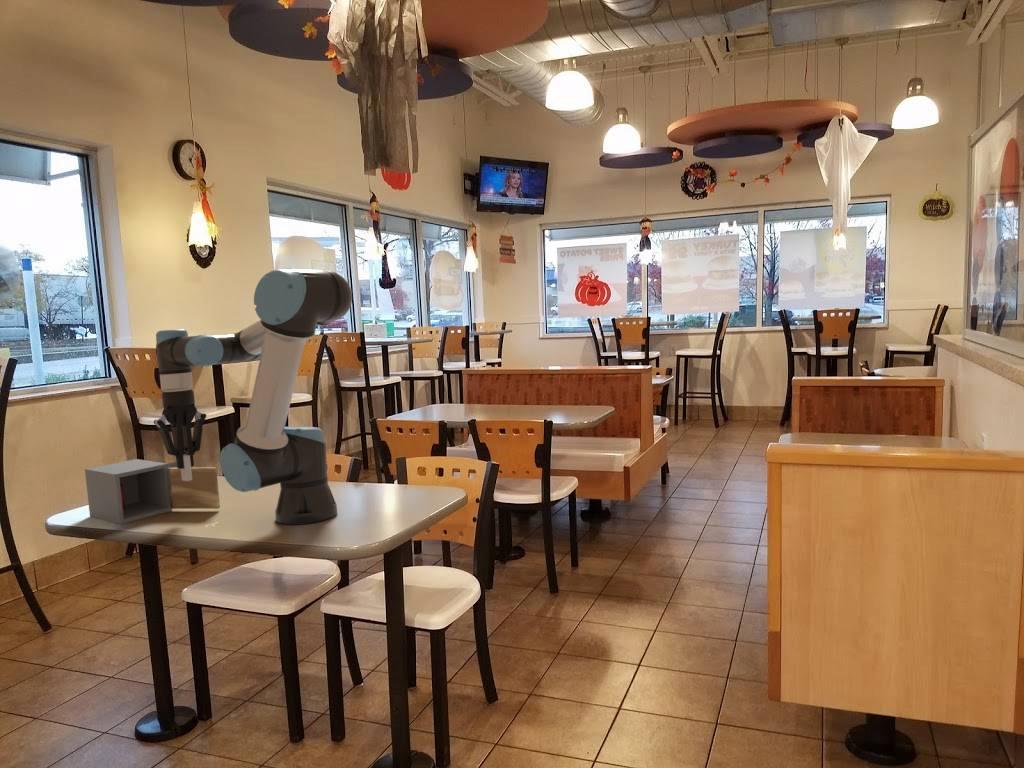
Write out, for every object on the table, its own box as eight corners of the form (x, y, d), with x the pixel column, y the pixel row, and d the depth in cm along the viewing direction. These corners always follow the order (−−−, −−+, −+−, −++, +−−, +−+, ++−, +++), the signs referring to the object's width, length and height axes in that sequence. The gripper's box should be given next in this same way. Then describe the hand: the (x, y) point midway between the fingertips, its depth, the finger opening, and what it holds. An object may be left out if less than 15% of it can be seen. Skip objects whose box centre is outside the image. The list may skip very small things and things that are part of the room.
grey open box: (172, 510, 199) (167, 463, 197) (120, 524, 187) (114, 474, 186) (141, 503, 208) (136, 459, 206) (89, 516, 196) (84, 469, 195)
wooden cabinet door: (175, 506, 200) (171, 466, 199) (222, 506, 197) (219, 466, 196) (169, 508, 198) (165, 468, 196) (217, 508, 195) (213, 468, 194)
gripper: (195, 386, 195) (204, 473, 197) (145, 392, 185) (155, 484, 187) (209, 387, 190) (218, 476, 192) (158, 393, 180) (168, 487, 182)
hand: (187, 480), depth 189 cm, fingers closed
